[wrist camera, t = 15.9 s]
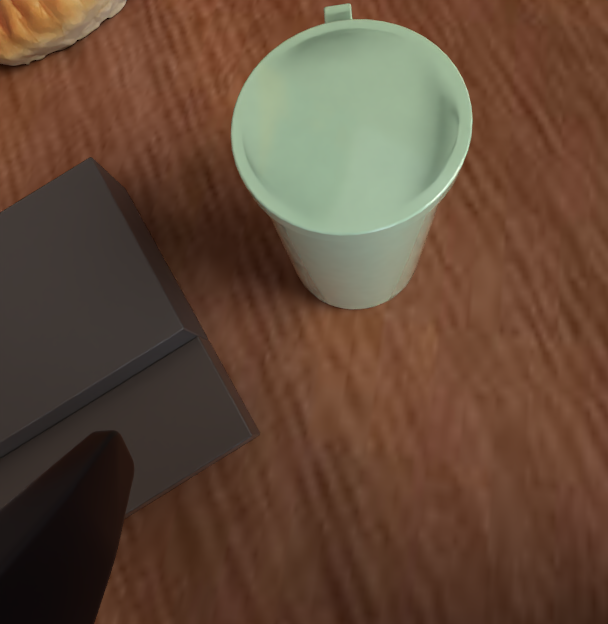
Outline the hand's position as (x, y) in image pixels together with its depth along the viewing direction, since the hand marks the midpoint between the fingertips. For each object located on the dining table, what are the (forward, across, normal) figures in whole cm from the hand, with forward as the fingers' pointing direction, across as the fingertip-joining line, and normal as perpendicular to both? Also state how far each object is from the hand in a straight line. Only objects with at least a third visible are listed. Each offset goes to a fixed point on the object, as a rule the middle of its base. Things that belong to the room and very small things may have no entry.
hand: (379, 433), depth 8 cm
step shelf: (+11, +15, +7) cm, 20 cm away
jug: (+16, 0, +3) cm, 16 cm away
